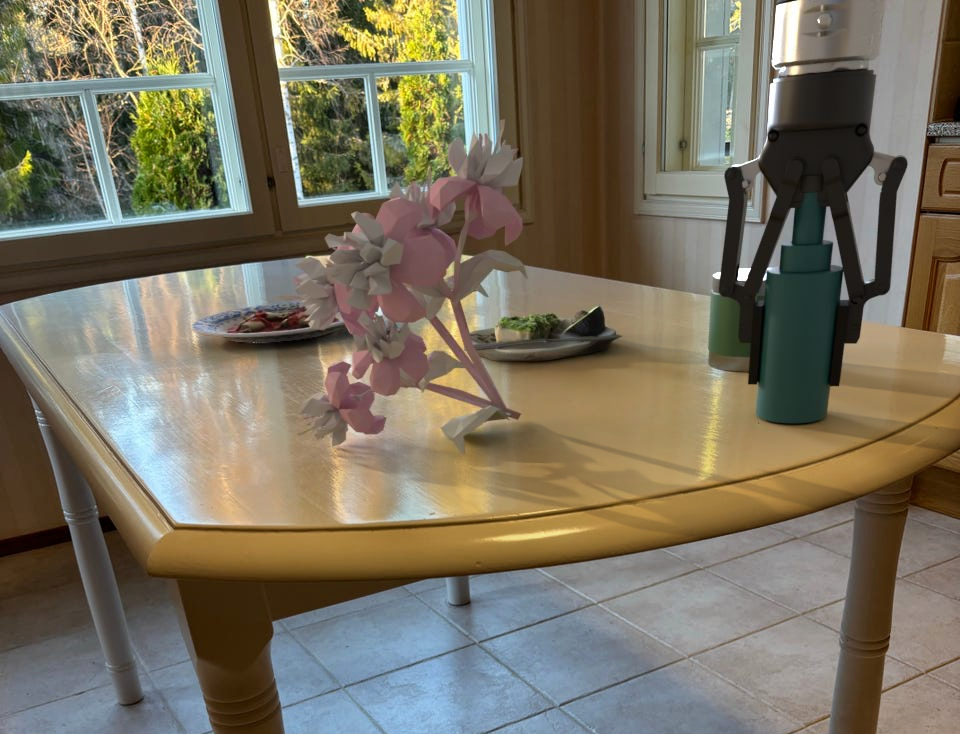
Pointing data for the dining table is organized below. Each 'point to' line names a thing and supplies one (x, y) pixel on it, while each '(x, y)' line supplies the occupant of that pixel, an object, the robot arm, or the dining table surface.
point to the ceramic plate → (263, 324)
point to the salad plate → (544, 337)
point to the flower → (411, 292)
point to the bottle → (800, 319)
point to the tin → (728, 329)
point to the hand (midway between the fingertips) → (794, 380)
